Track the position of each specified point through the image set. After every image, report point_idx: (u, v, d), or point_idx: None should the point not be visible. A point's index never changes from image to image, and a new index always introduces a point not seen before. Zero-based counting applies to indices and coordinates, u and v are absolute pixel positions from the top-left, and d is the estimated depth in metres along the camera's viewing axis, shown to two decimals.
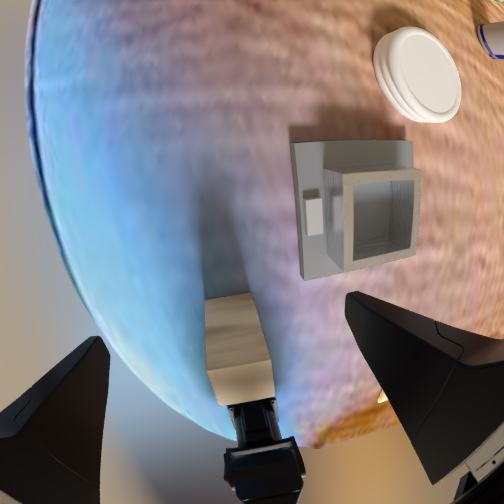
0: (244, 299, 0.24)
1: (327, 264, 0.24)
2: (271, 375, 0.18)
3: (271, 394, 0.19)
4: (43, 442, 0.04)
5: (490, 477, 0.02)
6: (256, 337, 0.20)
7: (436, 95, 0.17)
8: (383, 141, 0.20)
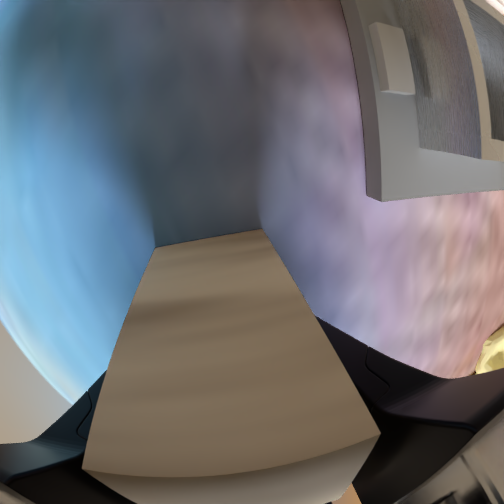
0: (247, 241, 0.10)
1: (421, 170, 0.10)
2: (354, 472, 0.03)
3: (330, 499, 0.04)
4: None
5: None
6: (295, 336, 0.05)
7: None
8: None
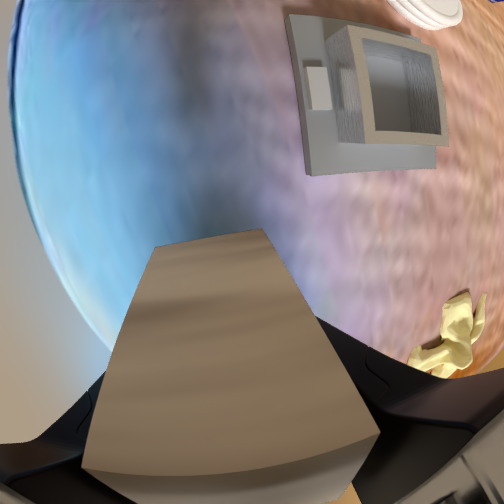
0: (246, 240, 0.10)
1: (340, 156, 0.17)
2: (353, 471, 0.03)
3: (329, 499, 0.04)
4: None
5: None
6: (294, 335, 0.05)
7: None
8: (389, 30, 0.14)
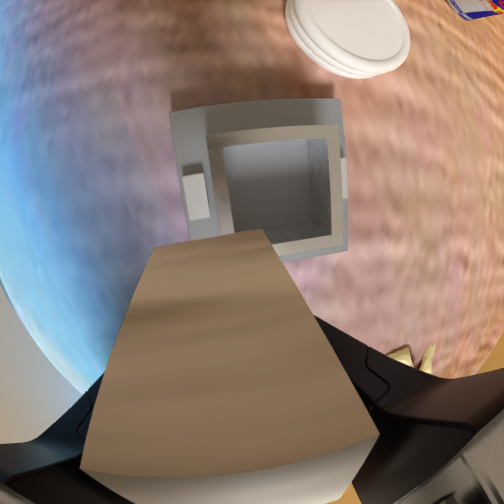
0: (246, 241, 0.10)
1: None
2: (353, 473, 0.03)
3: (329, 500, 0.04)
4: None
5: None
6: (294, 336, 0.05)
7: (368, 39, 0.13)
8: (293, 99, 0.16)
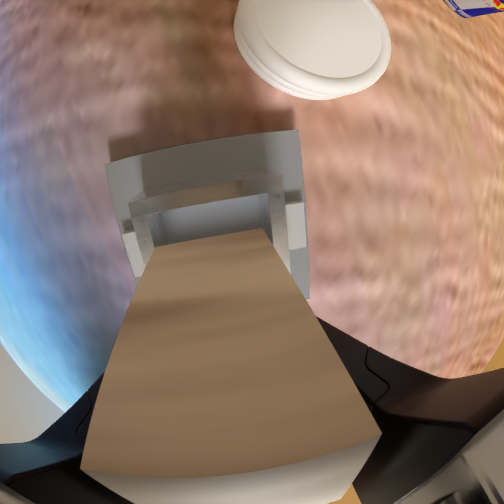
0: (246, 240, 0.10)
1: None
2: (354, 473, 0.03)
3: (330, 500, 0.04)
4: None
5: None
6: (295, 336, 0.05)
7: (333, 52, 0.12)
8: (239, 137, 0.15)
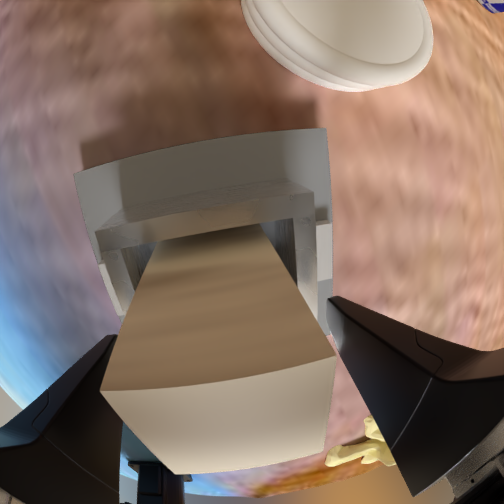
0: (241, 226, 0.12)
1: None
2: (326, 407, 0.05)
3: (313, 450, 0.06)
4: (62, 447, 0.04)
5: (490, 477, 0.02)
6: (274, 290, 0.07)
7: (371, 31, 0.08)
8: (249, 136, 0.11)
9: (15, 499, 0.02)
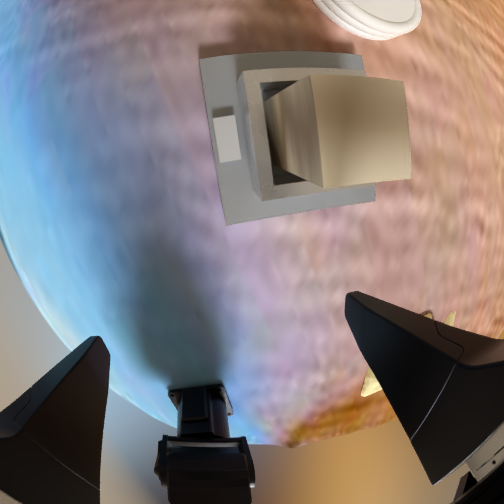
0: None
1: (255, 203, 0.19)
2: (406, 118, 0.09)
3: (405, 171, 0.10)
4: (43, 442, 0.04)
5: (490, 477, 0.02)
6: None
7: (384, 4, 0.12)
8: (319, 52, 0.15)
9: None
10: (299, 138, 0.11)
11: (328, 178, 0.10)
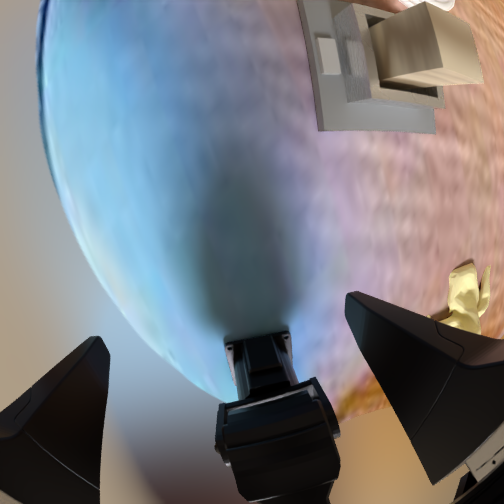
0: None
1: (349, 115, 0.18)
2: (475, 45, 0.08)
3: (480, 77, 0.09)
4: (42, 442, 0.04)
5: (490, 477, 0.02)
6: None
7: None
8: None
9: None
10: (411, 44, 0.10)
11: (444, 62, 0.09)
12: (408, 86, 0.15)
